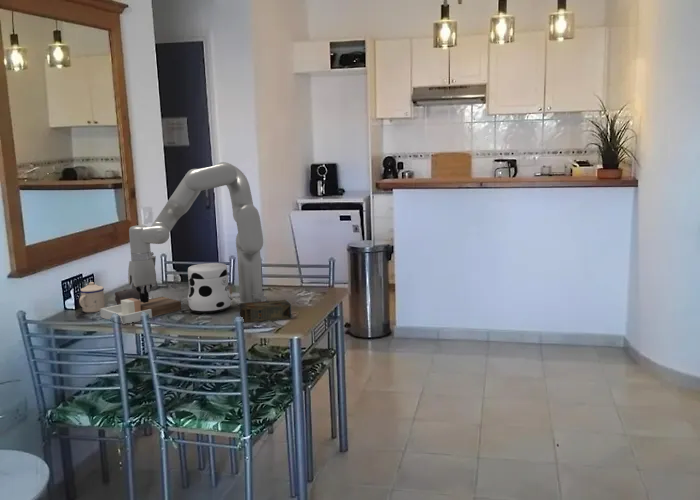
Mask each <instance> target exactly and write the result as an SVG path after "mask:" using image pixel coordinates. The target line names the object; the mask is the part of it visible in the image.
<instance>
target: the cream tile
mask: <svg viewBox="0 0 700 500" xmlns="http://www.w3.org/2000/svg"><path fill="white" fill-rule="evenodd" d="M121 310H122V315H126V314H130V313H135V307H134V301H131V300H128V299H125V300H121Z"/></svg>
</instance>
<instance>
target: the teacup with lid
mask: <svg viewBox="0 0 700 500" xmlns="http://www.w3.org/2000/svg"><path fill="white" fill-rule="evenodd" d="M104 290H105V289H104V286H101V285H97V284H96V283H95V282H93V281H91V282H88V284H87V285H86V286H85V287H82V288H80V291H79V292H80V297H79V300H78V301H79V306H80V307H82V312H84V313H97V312H100V309H101V308H105V307H106V306H105V304H106V303H105V295H104V294H105V293H104Z"/></svg>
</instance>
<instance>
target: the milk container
mask: <svg viewBox="0 0 700 500" xmlns="http://www.w3.org/2000/svg"><path fill="white" fill-rule="evenodd" d="M187 277H188V278H187V279H188V280H187V281H188V293H187V298H186V300H187V306H188V308H189V310H190V311H192V312H194V313H200V314H205V313H206V314H210V313H211V314H212V313H218V312H221V311H224V310H227V309H228V308H229V307H230V306H231V303H232V294H231V290H230V288H229V275H228V266H227V264H225V263H221V262H219V263H218V262H210V263H209V262H207V263H198V264H192V265H191V266H189V267H188V268H187Z"/></svg>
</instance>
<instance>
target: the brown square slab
mask: <svg viewBox="0 0 700 500" xmlns="http://www.w3.org/2000/svg"><path fill="white" fill-rule="evenodd" d="M140 307H141V311H144V310H148V309H151V311H152V318H153V317H157V316H160V315H165V314H170V313H173V312H174V313H175V312H178V310H179V311H182V302H181V300H176V299H173V298H169V297H166V296H158V297H153V298H149V299H148V302H146V303H143V302H141V300H140Z"/></svg>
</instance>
